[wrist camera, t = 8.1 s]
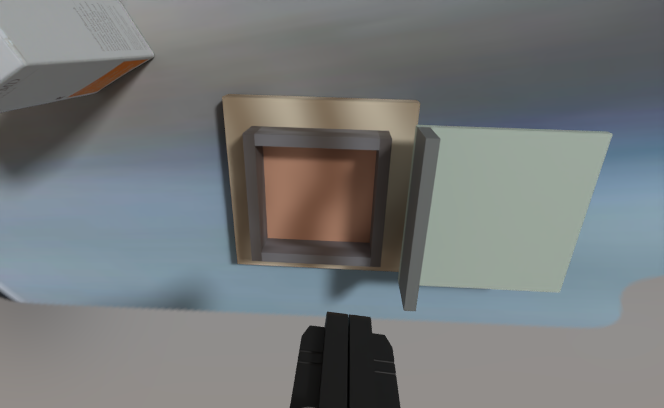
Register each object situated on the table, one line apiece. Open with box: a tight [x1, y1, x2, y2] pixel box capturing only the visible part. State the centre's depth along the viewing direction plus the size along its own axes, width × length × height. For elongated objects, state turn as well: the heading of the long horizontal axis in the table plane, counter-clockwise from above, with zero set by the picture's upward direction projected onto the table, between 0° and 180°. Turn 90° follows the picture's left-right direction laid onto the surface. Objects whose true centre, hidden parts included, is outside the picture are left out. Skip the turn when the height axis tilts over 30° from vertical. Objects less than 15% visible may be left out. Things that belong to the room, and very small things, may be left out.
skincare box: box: [0, 0, 154, 113], centre depth 21 cm, size 6×4×12 cm
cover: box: [398, 125, 612, 311], centre depth 24 cm, size 12×12×4 cm
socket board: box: [222, 94, 420, 272], centre depth 28 cm, size 14×14×4 cm
